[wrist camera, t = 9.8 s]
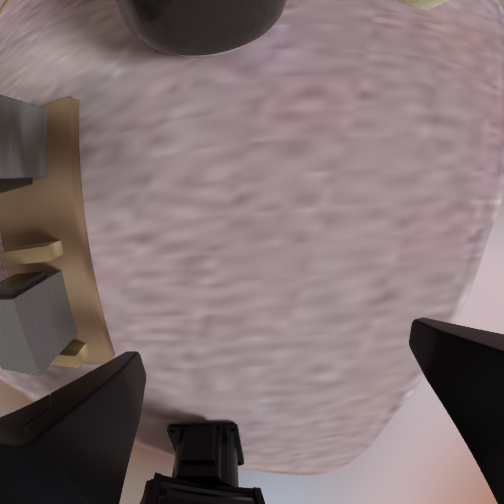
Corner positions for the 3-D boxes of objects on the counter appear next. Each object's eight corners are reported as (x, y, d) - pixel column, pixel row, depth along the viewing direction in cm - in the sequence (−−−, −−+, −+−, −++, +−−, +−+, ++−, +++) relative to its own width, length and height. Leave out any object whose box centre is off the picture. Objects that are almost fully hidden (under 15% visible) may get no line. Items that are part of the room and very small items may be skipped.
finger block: (78, 333, 19) (40, 375, 13) (41, 332, 19) (1, 368, 13) (60, 265, 18) (11, 292, 12) (23, 268, 18) (-26, 293, 12)
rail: (115, 354, 21) (79, 412, 14) (43, 351, 21) (1, 396, 14) (79, 100, 17) (20, 73, 10) (6, 128, 17) (-54, 119, 9)
